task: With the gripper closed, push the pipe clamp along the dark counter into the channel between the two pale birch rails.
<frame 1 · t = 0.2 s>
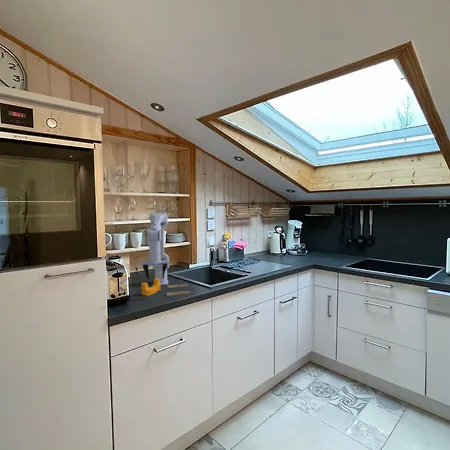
hand: (155, 278, 159), 10 cm above the table, tool pointing down, fingers open, 7 cm apart
pipe clamp: (152, 292, 168), on the table
rail channel: (178, 290, 171), on the table
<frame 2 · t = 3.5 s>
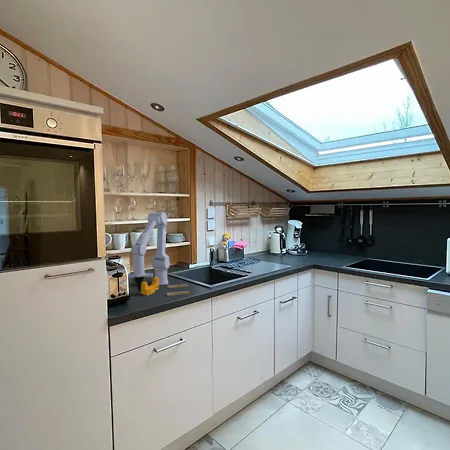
hand: (139, 290, 167), 1 cm above the table, tool pointing down, fingers closed
pipe clamp: (151, 291, 169), on the table, touching gripper
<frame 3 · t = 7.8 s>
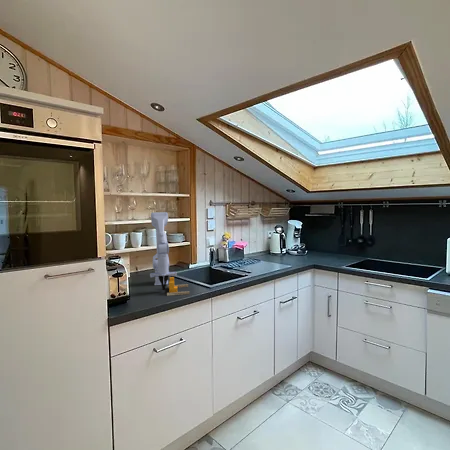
hand: (163, 289, 169), 1 cm above the table, tool pointing down, fingers closed
pipe clamp: (173, 291, 171), on the table
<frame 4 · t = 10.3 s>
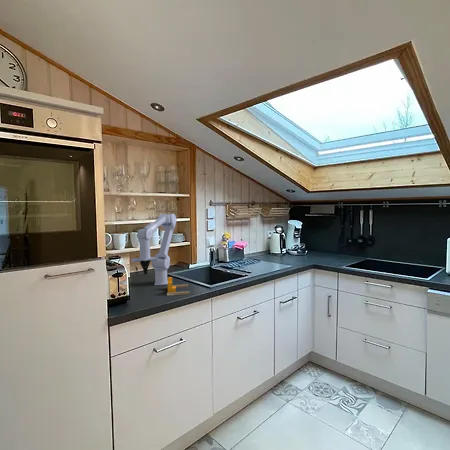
hand: (145, 274, 172), 9 cm above the table, tool pointing down, fingers closed
pipe clamp: (171, 291, 171), on the table
at the end: pipe clamp inside the target area on the rail channel (3.7 cm from its centre), point 0.0 cm above the rail channel's base; pipe clamp tilted 0°; pipe clamp moved 10.4 cm from its start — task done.
